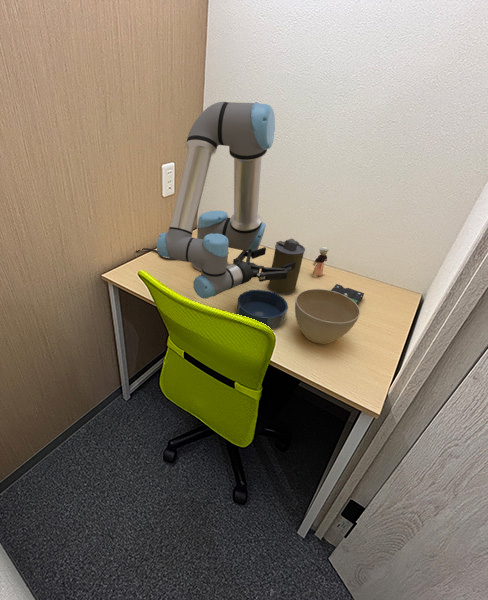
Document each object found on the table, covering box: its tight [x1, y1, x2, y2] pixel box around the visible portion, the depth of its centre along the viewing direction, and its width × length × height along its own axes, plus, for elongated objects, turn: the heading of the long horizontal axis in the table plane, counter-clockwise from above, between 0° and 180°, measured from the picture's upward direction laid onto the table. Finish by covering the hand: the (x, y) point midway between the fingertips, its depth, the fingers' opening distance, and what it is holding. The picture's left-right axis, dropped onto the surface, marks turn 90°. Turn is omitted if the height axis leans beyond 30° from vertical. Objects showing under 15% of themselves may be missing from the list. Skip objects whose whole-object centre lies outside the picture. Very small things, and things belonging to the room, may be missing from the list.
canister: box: [267, 238, 306, 296], centre depth 125 cm, size 11×10×20 cm
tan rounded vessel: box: [294, 288, 361, 345], centre depth 104 cm, size 18×18×12 cm
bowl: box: [235, 289, 289, 330], centre depth 115 cm, size 17×17×5 cm
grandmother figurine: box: [311, 246, 329, 278], centre depth 136 cm, size 8×4×13 cm, turn 131°
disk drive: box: [330, 283, 365, 306], centre depth 122 cm, size 10×3×15 cm
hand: (279, 257), depth 121 cm, fingers open, 13 cm apart
